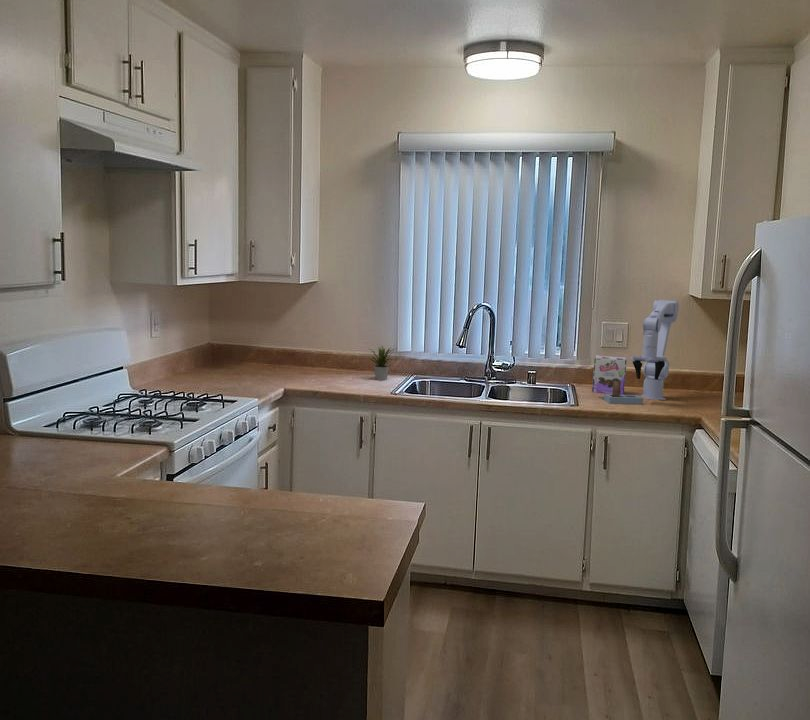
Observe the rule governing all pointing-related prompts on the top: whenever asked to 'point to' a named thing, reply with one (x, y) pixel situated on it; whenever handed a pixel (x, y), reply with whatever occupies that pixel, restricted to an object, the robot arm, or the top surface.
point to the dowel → (616, 389)
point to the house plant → (381, 364)
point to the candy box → (608, 373)
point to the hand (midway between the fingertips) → (647, 379)
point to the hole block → (623, 399)
